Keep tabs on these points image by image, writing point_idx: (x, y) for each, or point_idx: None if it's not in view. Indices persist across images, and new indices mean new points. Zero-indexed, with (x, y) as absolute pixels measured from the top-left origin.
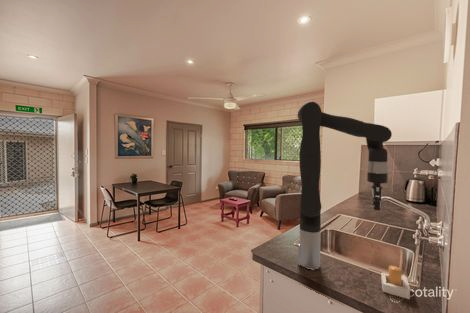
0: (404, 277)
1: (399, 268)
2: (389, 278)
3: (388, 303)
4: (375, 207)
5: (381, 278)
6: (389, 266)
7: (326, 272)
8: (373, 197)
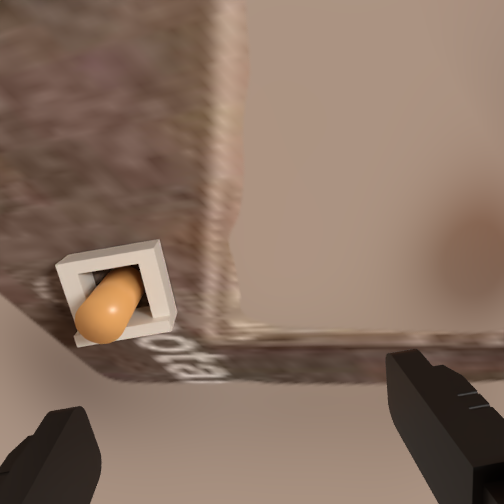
0: (153, 327)
1: (115, 335)
2: (99, 284)
3: (11, 276)
4: (6, 465)
5: (143, 244)
6: (101, 301)
7: (23, 17)
8: (477, 468)
